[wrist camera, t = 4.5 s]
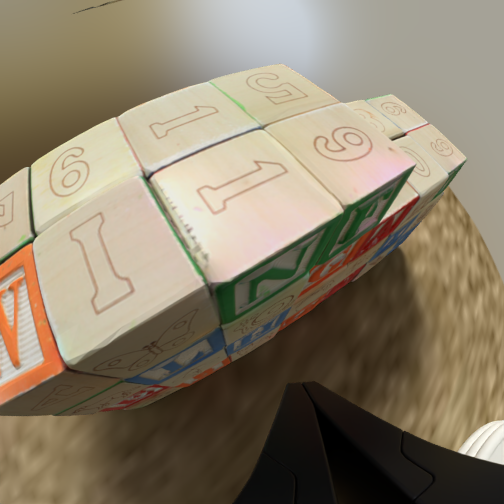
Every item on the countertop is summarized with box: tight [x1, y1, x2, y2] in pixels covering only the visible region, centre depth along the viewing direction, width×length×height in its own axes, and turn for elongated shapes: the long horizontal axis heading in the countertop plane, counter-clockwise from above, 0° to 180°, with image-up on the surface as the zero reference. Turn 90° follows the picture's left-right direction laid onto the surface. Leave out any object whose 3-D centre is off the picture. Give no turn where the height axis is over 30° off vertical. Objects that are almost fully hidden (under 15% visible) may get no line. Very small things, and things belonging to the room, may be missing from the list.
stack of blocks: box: [0, 64, 467, 416], centre depth 12 cm, size 21×6×12 cm, turn 123°
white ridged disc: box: [457, 420, 504, 465], centre depth 9 cm, size 10×10×4 cm
